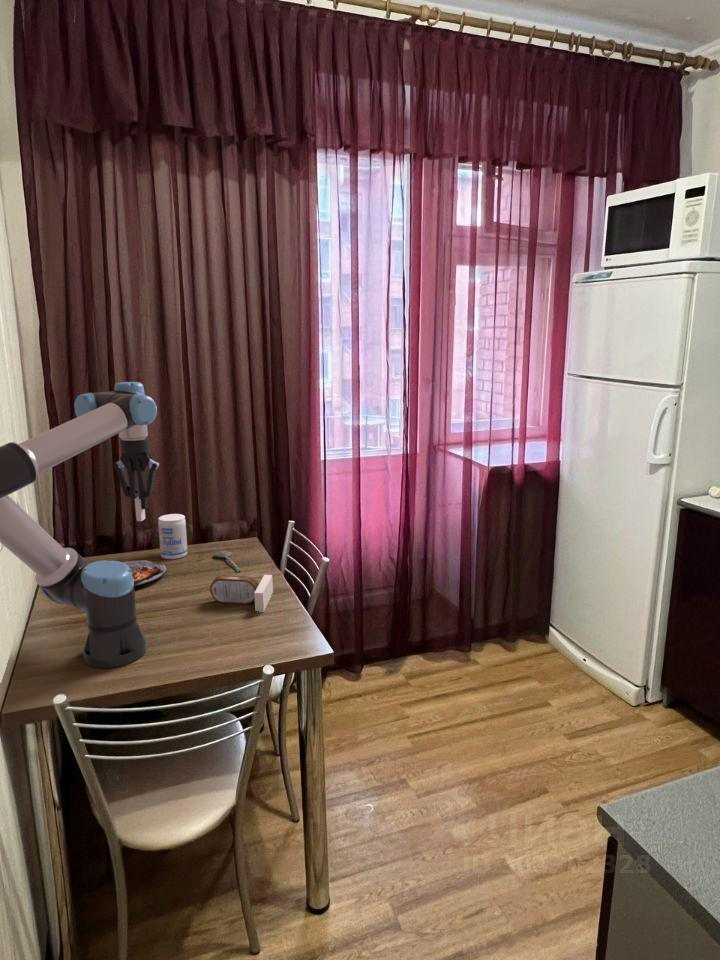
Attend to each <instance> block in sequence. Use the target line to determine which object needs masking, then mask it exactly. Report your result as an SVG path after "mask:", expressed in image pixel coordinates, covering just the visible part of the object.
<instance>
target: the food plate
mask: <svg viewBox="0 0 720 960" xmlns="http://www.w3.org/2000/svg"><path fill="white" fill-rule="evenodd" d="M121 562H122V563H124V564H126V565H127V566H128V567H129V568H130V569H131V572H132V577H134V578H133V580H134V587H137V586H138V587H139V586H141V585H145V584H147V583H150V582H152V581H156V580H158V579H160V578H162V577H163V576H164V575H165V574H166V573H167V572H168V567H167V566H166V565H165V564H162V563H161V562H160V563H159V562H155V561H152V560H148V559H147V560H146V559H145V560H144V559H139V560H129V561H121ZM132 568H140V570H139V572H137V573H135V572H136V571H135V570H132ZM150 569H152V570H150Z"/></svg>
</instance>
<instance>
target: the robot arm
mask: <svg viewBox="0 0 720 960" xmlns="http://www.w3.org/2000/svg"><path fill="white" fill-rule="evenodd" d="M73 405H74V406H73V407H74V412H75V416H76V417H75V418H72V419H70V420H68V421H66V422H64V423H62V424H60V425H58V426H55V427H53V428H51V429H49V430H48V429H47V430H46V431H44V432H42V433H40V434H37V435H36V436H33V437H30V438H29V439H27V440H24V441H22V442H20V443H17V442H14V441H12V442H11V441H10V442H8V443H6V444H4V445H2V446H0V543H1V544H2V546H4V547H5V548H6V549H7V550H8V551H10V552H11V553H12V554H13V555H14V556H15V557H17V559H18V560H20V561H21V562H22V563H24V564H25V565H26V566H27V567H28V568H29V569H30V570H31V571H33V572H34V573H35V578H34V579H35V582H36V583H37V584H38V586H39V588H40V591H41V592H42V594H43V595H44V596H45V597H46V598H48V600H50V601H52V602H53V603H56V604H60V605H65V606H69V607H71V608H74V609H76V610H79V611H82V612H85V615H86V623H87V634H86V637H85V641H84V642H85V643H84V646H83V651H82V652H83V660H85V661H84V663H85V664H86V663H87V665H88V666H90V667H92V666H93V668H99V669H107V668H115V667H121V666H125V665H128V664H131V663H133V662H135V661H137V660H138V659H140V658H142V657H143V656H144V655H145V653H146V652H147V650H148V643H147V638H146V636H145V634H144V632H143V630H142V628H141V625H140V624H139V622H138V616H137V605H136V595H135V586H134V580H133V577H132V572H131V570H132V569H130V568H129V567H128V566H127V565H126V564H124V563H122V562H123V561H117V560H106V559H105V560H96V561H94V562H91V563H90V562H89V561H87V560H86V559H85V558H84V557H82V556H81V555H80V554H79V552H78V551H76V550H75V549H74V548H73V547H63V546H62V545H61V544H60V543H58V541H57V540H56V539H54V537H52V536H51V535H50V534H49V532H48V531H46V529H44V528H43V527H42V526H41V525H40V524H39V523H38V522H37V521H36V520H34V519H33V518H32V517H31V516H30V515H29V514H28V513H27V512H26V511H25V510H24V509H23V508H22V507H21V506H20V505H19V504H18V503H16V501H14V499H13V498H11V497H10V496H9V495H11V494H13V493H15V492H17V491H20V490H21V489H24V488H26V487H27V486H30V485H31V484H34V482H36V481H37V480H38V476H39V475H40V474H42V473H43V472H45V471H48V470H49V469H52V468H53V467H56V466H58V465H59V464H61V463H63V462H65V461H67V460H69V459H72V458H73V457H75V456H77V455H79V454H81V453H83V452H84V451H87V450H89V449H90V448H93V447H94V446H96V445H99V444H101V443H103V442H105V441H107V440H109V439H111V438H112V437H114V436H116V435H118V436H119V439H120V441H119V446H120V447H119V448H120V457H119V460H118V461H116V462H114V463H112V468H113V470H115V471H116V474H117V477H118V479H119V482H120V485H121V488H122V492H123V494H124V497H128V498H130V499H131V504H132V505H131V507H132V509H133V510H135V517H136V518H135V519H136V522H142V521H144V520H145V519H146V509H148V497H150V496H153V494H154V490H155V483H156V477H157V472H158V471H157V470H158V469H159V467H160V465H161V464H160V462H159V461H155V460H153V459H152V456H151V455H150V445H149V444H150V443H149V442H150V441H149V438H148V436H149V434H148V432H149V431H148V425H150V424H152V423H153V422H154V421H155V419H156V417H157V415H158V414H157V413H158V408H157V404H156V401H154V399H153V398H152V397H151V396H148V395H146V393H145V389H144V384H142V382H139V381H122V382H116V383H115V384H114V390H112V391H99V392H97V391H96V392H87V393H82V394H79V395H78V396H77V397H76V398H75V400H74V404H73ZM148 466H149V471H148V477H147V476H146V473H147V470H146V468H147V467H148ZM124 467H125V468H124ZM125 469H127V473H126V470H125ZM127 475H128V476H127Z"/></svg>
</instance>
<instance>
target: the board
mask: <svg viewBox="0 0 720 960" xmlns="http://www.w3.org/2000/svg"><path fill="white" fill-rule="evenodd" d="M273 580H274V579H273V574H263V576H262V578H261V580H260V582H259V583H258V584H259V585H258V587H257V589H256V591H255V593H254V596H255V601H254V608H255V609H254V610H255V611H257V612H256V613H264V612H265V611H266V609H267V607H268V605H269V603H270V601H269V600H271V599H270V598H272V596H273V594H274V584H273V582H274V581H273ZM272 593H273V594H272ZM271 595H272V596H271ZM268 602H269V603H268ZM267 604H268V605H267ZM266 606H267V607H266ZM265 608H266V609H265ZM264 610H265V611H264ZM258 611H259V612H258ZM263 611H264V612H263Z"/></svg>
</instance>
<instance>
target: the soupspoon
mask: <svg viewBox="0 0 720 960" xmlns="http://www.w3.org/2000/svg"><path fill="white" fill-rule="evenodd" d="M231 555H232V552H231V551H228V550H220V551H219V550H218V551H216V552H215V553H214V554H213V555H212V556H213V557H218V558H225V559H226V560H228V562H229V563H231V564H232V565H233V567H234V568H235V570H236V573H240V572H239V571H241V572H242V569H241V568H239V566H238V565H236V563H235V562H234V561H233V560H232V559H231V558H230V556H231Z"/></svg>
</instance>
